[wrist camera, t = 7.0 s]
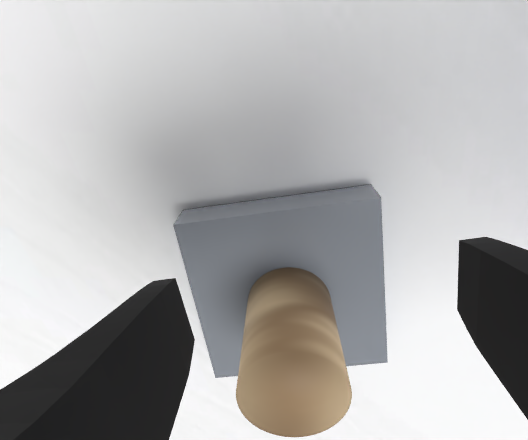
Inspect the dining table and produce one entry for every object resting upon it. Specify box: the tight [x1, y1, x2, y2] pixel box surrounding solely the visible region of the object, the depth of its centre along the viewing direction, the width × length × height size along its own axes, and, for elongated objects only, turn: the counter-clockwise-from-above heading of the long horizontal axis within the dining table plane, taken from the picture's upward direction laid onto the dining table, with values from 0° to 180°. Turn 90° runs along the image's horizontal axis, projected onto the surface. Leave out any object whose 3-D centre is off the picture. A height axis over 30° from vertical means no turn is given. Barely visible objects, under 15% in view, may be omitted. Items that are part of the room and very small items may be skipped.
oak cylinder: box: [236, 267, 352, 437], centre depth 17 cm, size 4×4×6 cm
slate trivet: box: [174, 184, 387, 378], centre depth 20 cm, size 10×10×2 cm
